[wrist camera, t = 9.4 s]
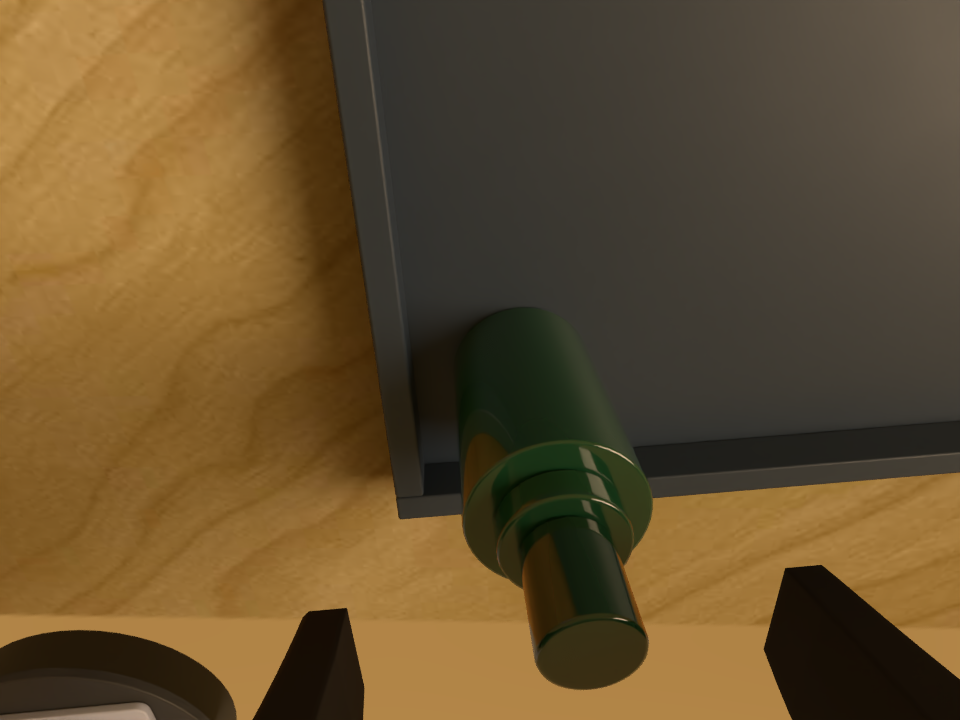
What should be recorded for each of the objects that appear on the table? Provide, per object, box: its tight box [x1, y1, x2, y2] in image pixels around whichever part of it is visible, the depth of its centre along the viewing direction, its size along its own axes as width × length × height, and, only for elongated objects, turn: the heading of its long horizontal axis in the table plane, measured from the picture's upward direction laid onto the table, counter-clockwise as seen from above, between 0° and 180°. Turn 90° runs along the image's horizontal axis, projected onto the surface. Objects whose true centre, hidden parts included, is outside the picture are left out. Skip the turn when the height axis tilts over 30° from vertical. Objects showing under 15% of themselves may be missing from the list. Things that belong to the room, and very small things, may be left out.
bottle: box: [453, 308, 653, 690], centre depth 14 cm, size 4×4×9 cm
